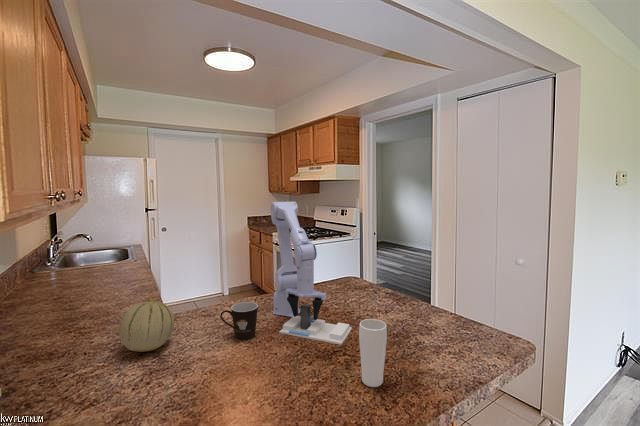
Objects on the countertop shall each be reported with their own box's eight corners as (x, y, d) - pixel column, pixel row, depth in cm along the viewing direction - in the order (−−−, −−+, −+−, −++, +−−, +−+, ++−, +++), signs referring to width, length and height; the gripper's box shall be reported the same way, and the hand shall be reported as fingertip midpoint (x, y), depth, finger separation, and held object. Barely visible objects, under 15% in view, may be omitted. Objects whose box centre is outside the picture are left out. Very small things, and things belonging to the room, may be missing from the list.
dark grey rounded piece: (298, 328, 107) (298, 307, 107) (310, 318, 117) (310, 298, 116) (308, 330, 106) (308, 308, 106) (319, 319, 115) (319, 299, 115)
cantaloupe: (117, 367, 85) (114, 314, 84) (122, 343, 98) (120, 297, 97) (176, 354, 92) (174, 304, 91) (174, 333, 105) (172, 290, 104)
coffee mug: (263, 333, 106) (263, 304, 105) (247, 344, 98) (246, 313, 97) (236, 326, 110) (235, 299, 110) (218, 337, 103) (218, 307, 102)
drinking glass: (387, 376, 81) (388, 320, 80) (384, 392, 74) (384, 331, 73) (361, 371, 83) (362, 317, 82) (356, 387, 77) (356, 327, 75)
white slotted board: (279, 333, 106) (279, 326, 105) (295, 319, 117) (295, 313, 116) (341, 344, 97) (341, 338, 97) (352, 328, 108) (352, 322, 108)
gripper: (281, 279, 106) (281, 318, 107) (320, 284, 101) (320, 325, 102) (290, 274, 113) (290, 311, 114) (328, 278, 107) (328, 317, 108)
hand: (305, 317), depth 108 cm, fingers open, 7 cm apart
